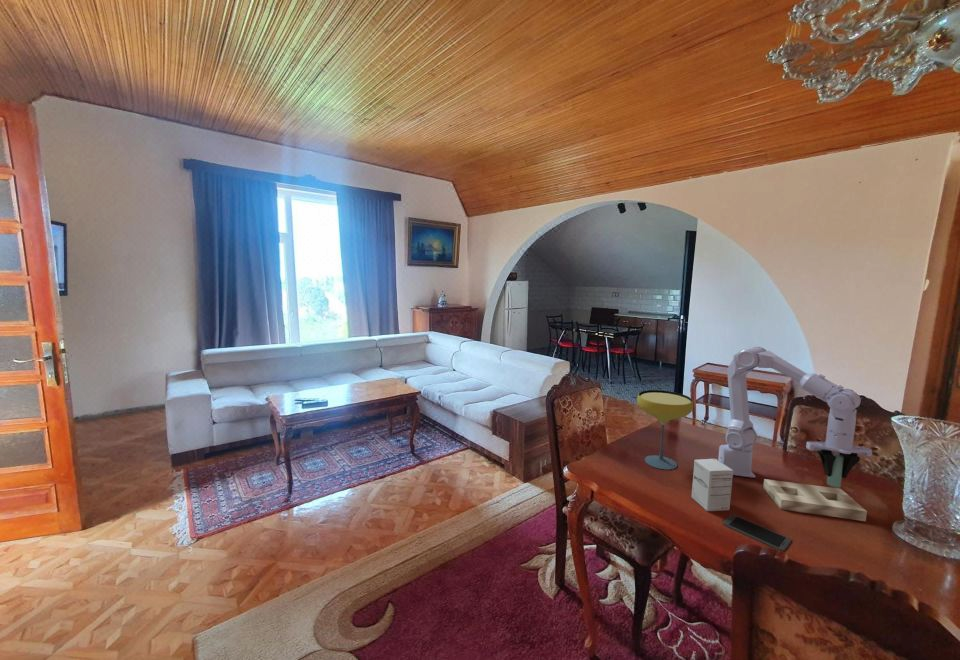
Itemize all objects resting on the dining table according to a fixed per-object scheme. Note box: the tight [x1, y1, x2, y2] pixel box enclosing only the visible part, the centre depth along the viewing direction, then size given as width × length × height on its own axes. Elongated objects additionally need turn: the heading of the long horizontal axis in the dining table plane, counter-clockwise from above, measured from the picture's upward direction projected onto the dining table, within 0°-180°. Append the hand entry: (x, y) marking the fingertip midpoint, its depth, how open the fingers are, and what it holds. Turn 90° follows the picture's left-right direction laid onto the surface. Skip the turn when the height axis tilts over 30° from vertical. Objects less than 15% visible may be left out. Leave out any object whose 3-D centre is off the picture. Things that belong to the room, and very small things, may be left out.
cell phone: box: [721, 513, 792, 553], centre depth 101 cm, size 7×14×1 cm, turn 37°
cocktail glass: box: [636, 389, 694, 471], centre depth 138 cm, size 18×18×25 cm
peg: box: [826, 453, 844, 489], centre depth 111 cm, size 3×3×9 cm
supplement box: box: [691, 458, 734, 512], centre depth 113 cm, size 7×7×13 cm
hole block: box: [762, 478, 868, 522], centre depth 114 cm, size 20×12×3 cm, turn 73°
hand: (834, 475), depth 111 cm, fingers closed on peg, 3 cm apart
